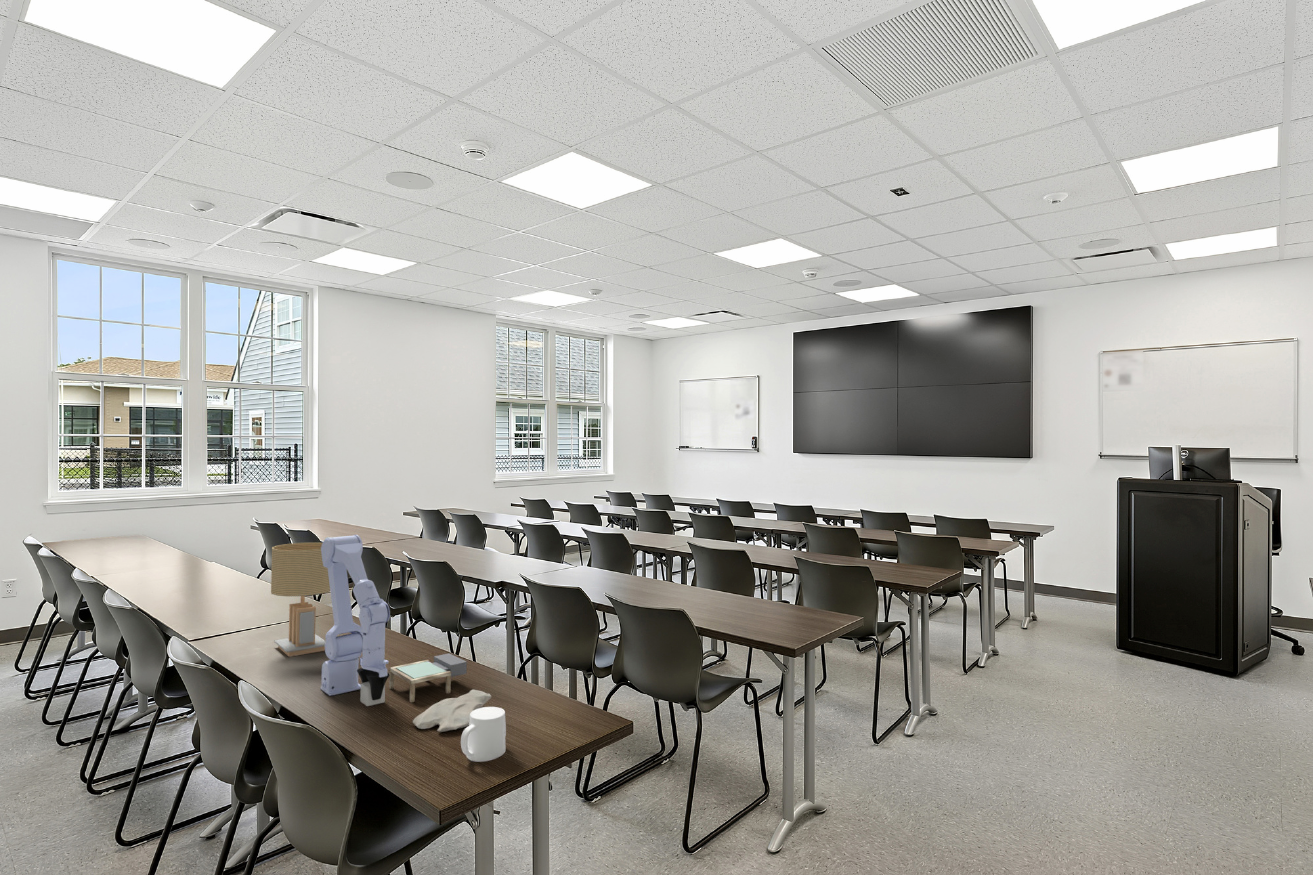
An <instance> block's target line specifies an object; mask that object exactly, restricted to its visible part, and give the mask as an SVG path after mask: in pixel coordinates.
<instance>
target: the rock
mask: <svg viewBox="0 0 1313 875" xmlns="http://www.w3.org/2000/svg"><path fill="white" fill-rule="evenodd" d="M491 698H492V695H491V693H486V692H484V691H482V690H478V689H471V690H469V692H467V693H465V694H462V695H460V696H458V697H451V698H444V699H441V700H440V701H439V702H436V703H434V704H432V705H431V706H429V707H428V708H427V709H425V711H423V712H422V713H420V714H418V715H416V717H414V719H413V720H412V723H413V725H414V726H416V728H418V729H421V730H426V729H431V728H433V727H435V726H437V725H438V726H439V727H438V728H437V730H436V731H437V732H440V733H442V732H448V731H453V730H457V729H463V728H467V727H468V726H469V721H470V713H471V712H472V711H474V710H476V709H479V708H483V706H484V705H485V704H487V702H488V701H490V700H491Z"/></svg>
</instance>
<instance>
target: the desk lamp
mask: <svg viewBox="0 0 1313 875" xmlns="http://www.w3.org/2000/svg"><path fill="white" fill-rule="evenodd" d="M322 543H323V542H295V543H287V544H286V543H285V544H279V545H275V546H272V547H271V572H270V573H271V575H270V577H271V579H270V580H271V581H270V583H271V584H270V593H271V595H274V596H277V597H279V596H280V597H300V602H296V603H290V604H289V609H288V611H289V613H288V637H287V638H280V639H275V640H274V643H275V644H276V645H277V646H278V649H279V650H280V651H282V652H283V653H284V654H285V655H286V656H288V657H289V658H290V657H294V656H301V655H306V654H312V653H319V652H325V642H326V639H323V638H322V637H320V636H319V635H317V634H316V621H317V619H316V618H317V616H316V615H317V614H316V613H317V612H316V611H317V607H316V606H313V604H312V603H309V602H308V601H306V600H305V598H306V596H316V595H321V594H325V593H329V592H330V584H329V576H328V568H326V567H324V566H323V562H322V553H321V546H322Z"/></svg>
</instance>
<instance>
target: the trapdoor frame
mask: <svg viewBox="0 0 1313 875" xmlns="http://www.w3.org/2000/svg"><path fill="white" fill-rule="evenodd" d="M427 661H428V662H430V660H429V659H425V660H422V661H421V660H420V661H416V662H410V663H405V664H401V665H397V666H396V665H395V666H392V667H389V671H388V673H389V677H388V679H389V680H388V682H389V683H388V689H389V690H393V689H394V688H395V676H397V677H399V678H400V679H402V680H403V681H405V682H407V683H408V684H409V702H410V703H414V702H415V701H416V700H415V698H416V684H420V683H422V682H423V683H424V682H428V681H432V680H436V679H441V678H445V693H446V694H451V691H452V689H451V686H452V685H451V684H452V683H451V682H452V677H451V672H450V671H447V672H443V673H438V674H434V675H429V676H425V677H420V678H416V679H413V678H411V677H409V676H408V675H406V674H404V673H402V672H401V671H399V670H397V669H396V668H398V667H403V666H408V665H413V664H417V663H422V662H427Z"/></svg>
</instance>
